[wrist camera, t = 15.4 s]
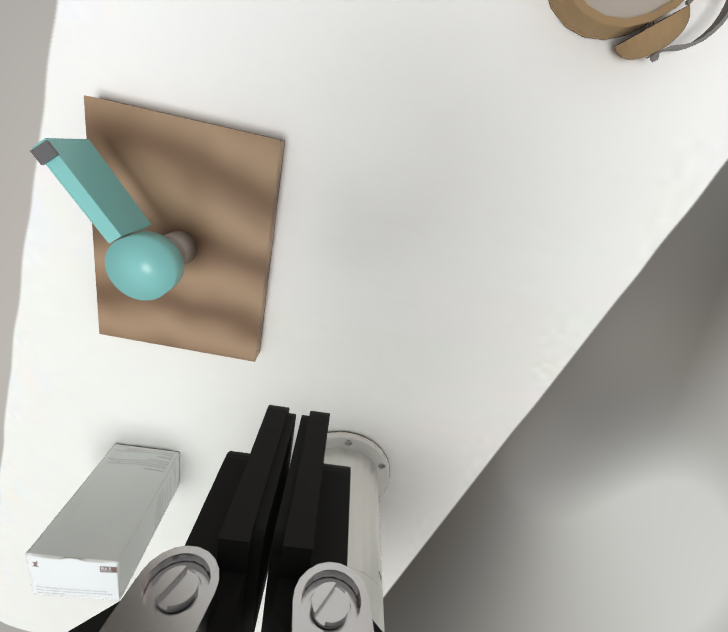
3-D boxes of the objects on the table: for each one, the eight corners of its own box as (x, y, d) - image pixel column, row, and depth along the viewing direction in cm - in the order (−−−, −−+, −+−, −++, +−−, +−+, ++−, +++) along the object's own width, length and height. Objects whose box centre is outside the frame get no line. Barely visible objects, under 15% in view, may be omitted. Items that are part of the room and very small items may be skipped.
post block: (259, 352, 43) (241, 388, 37) (111, 325, 42) (65, 357, 35) (284, 140, 35) (267, 139, 28) (99, 98, 33) (36, 86, 27)
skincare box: (117, 475, 51) (27, 596, 37) (115, 439, 48) (17, 555, 35) (183, 484, 51) (118, 607, 38) (184, 449, 49) (114, 567, 35)
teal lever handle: (207, 266, 34) (184, 284, 30) (162, 291, 35) (133, 312, 31) (107, 126, 30) (63, 123, 25) (59, 159, 31) (8, 161, 26)
